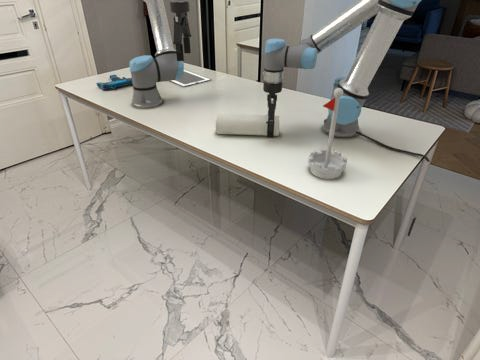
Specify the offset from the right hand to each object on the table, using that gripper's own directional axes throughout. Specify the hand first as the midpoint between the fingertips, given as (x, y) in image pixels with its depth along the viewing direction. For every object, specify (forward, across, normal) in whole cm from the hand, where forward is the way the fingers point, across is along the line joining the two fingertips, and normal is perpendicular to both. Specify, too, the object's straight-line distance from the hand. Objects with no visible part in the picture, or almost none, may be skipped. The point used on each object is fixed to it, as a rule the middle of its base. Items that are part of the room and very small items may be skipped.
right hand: (270, 130), depth 146 cm
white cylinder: (+2, 0, -10) cm, 10 cm away
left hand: (-27, -14, -38) cm, 49 cm away
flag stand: (+2, +29, +20) cm, 35 cm away
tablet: (+2, -80, -56) cm, 98 cm away
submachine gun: (+2, -68, -90) cm, 113 cm away
